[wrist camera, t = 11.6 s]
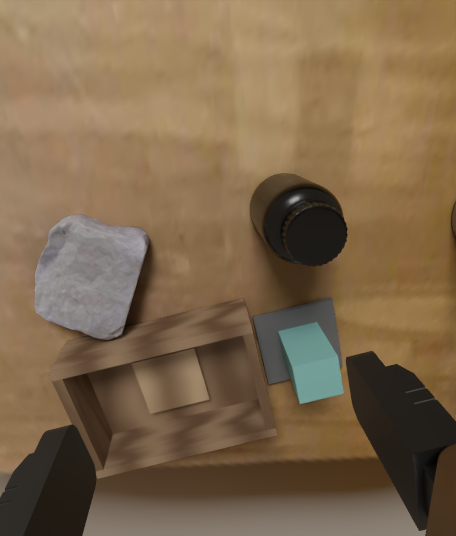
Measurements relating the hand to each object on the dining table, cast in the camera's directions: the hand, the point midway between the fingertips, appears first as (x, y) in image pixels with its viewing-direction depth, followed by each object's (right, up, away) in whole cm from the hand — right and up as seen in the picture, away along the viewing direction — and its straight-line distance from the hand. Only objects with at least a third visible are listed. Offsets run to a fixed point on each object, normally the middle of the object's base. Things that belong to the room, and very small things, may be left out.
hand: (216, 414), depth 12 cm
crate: (-6, -8, +35) cm, 36 cm away
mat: (+8, -4, +35) cm, 36 cm away
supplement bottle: (+6, +11, +29) cm, 32 cm away
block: (+9, -4, +34) cm, 35 cm away
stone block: (-14, +4, +30) cm, 33 cm away
